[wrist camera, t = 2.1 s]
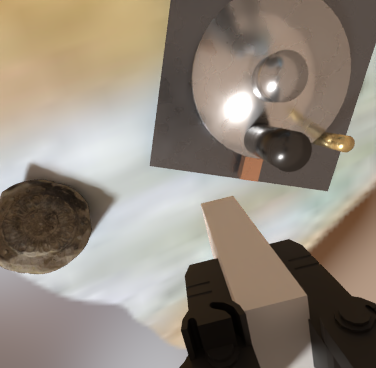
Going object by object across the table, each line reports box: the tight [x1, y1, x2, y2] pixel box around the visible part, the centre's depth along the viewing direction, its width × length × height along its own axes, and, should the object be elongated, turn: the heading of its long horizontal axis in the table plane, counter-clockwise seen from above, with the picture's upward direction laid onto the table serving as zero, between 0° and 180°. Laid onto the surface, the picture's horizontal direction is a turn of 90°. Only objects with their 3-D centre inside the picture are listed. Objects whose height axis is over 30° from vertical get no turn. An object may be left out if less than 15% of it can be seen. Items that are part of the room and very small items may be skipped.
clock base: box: [150, 0, 376, 191], centre depth 27 cm, size 22×22×7 cm
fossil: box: [0, 179, 92, 274], centre depth 30 cm, size 11×9×10 cm
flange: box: [191, 0, 351, 181], centre depth 24 cm, size 18×16×9 cm
